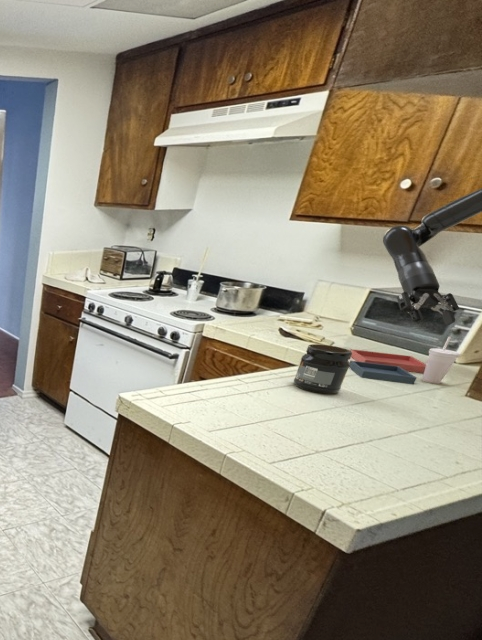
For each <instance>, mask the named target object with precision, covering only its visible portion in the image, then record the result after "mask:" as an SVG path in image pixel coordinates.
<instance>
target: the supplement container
mask: <svg viewBox="0 0 482 640" xmlns="http://www.w3.org/2000/svg"><path fill="white" fill-rule="evenodd" d="M350 350H351V349H350ZM350 350H349V349H348V348H344V347H340V346H336V345H329V344H328V345H327V344H318V343H314V344H309V345H308V346H307V347H306V350H305V352H306V353H305V354H303V355H302V356H301V358H300V362H299V365H298V367H297V370H296V374H295V376H294V378H293V384H294V385H295V386H296V387H297V388H300V389H302V390H305V391H309V392H312V393H316V394H323V395H324V394H326V395H329V394H330V395H332V394H336V393H339V392H340V390H341V389H342V385H343V383H344V380H345V377H346V375H347V373H348V370H349V369H350V368H349V367H350V363H349V362H350V360H351V358H352V357H351V355H352V352H351V351H350Z"/></svg>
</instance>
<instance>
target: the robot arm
mask: <svg viewBox="0 0 482 640" xmlns="http://www.w3.org/2000/svg"><path fill="white" fill-rule="evenodd" d="M481 213H482V188H479V189H477V190H475V191H472V192H470V193H468V194H466V195H463V196H461V197H459V198H457V199H455V200H452V201H450V202H448V203H446V204H444V205H442V206H440V207H438V208H436V209H434V210H432V211H430V212H429V213H427V214H425V215H424V216H423V217H422V218H421V223H420V224H418V225H417V226H416V227H414V228H411V227H410V226H408V225H404V224H399V225H398V224H397V225H394V226H392V227H389V229H387V230H385V232H384V234H383V236H382V244H383V246H384V247H385V250H386V252H387V253H388V255H389V256H390V257H391V259H392V261H393V264H394V267H395V270H396V272H397V276H398V281H399V282H400V286H401V289H402V293H400V294H398V295H397V296H396V299H397V303H398V308H399V310H400V312H403V313H404V312H407V313H408V315H410V318H411V320H412V322H413V323H414V324H420V323H422V322H423V321H424V317H423V315H422V312H421V310H420V309H424V308H427V309H431V310H432V311H434V312H438V313H440V314H441V317H442V321H443V322H444V324H445V326H450V325H452V324H454V323H455V322H456V318H455V315H454V313H455V312H456V311H458V310H460V306H459V304H458V303H457V301H456V298H455V297H454V294H453V293H451V292H449V293H447V294H441V293H440V292H439V290H440V282H439V281H438V278H437V276H436V274H435V272H434V269H433V268H432V266H431V265H430V263H429V260H428V258H427V255H426V253H425V252H424V251H423V250H422V249H421V246H423V245H425V244H426V243H427V242H429V241H430V240H432V239H433V238H434V237H436V236H438V234H440V233H442V232H444V231H446V230H448V229H450V228H453V227H455V226H457V225H458V224H460V223H463V222H465V221H466V220H469V219H471V218H473V217H475V216H477V215H479V214H481ZM437 305H438V306H437ZM444 309H445V310H444Z"/></svg>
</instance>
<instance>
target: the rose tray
mask: <svg viewBox="0 0 482 640" xmlns="http://www.w3.org/2000/svg"><path fill="white" fill-rule="evenodd" d="M350 351H351V352H352V355H351V358H352V359H354V361H358V362H366V363H375V364H383V365H391V366H399V367H401V368H402V369H404V370H405V371H407V372H411V373H420V374H424V371H425V367H426V364H427V363H424V362H422V361H421V360H419V359H417V358H415V357H414V356H412V355H404V354H395V353H386V352H378V351H368V350H360V349H350Z"/></svg>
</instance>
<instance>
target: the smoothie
mask: <svg viewBox="0 0 482 640" xmlns="http://www.w3.org/2000/svg"><path fill="white" fill-rule="evenodd" d="M451 338H452V336H447V339H446V341H445V343H444V345H443V347H442V348H436V347H435V348H434V347H433V348H429V349H428V357H427V360H426V363H425V364H426V367H425V371H424V373H423V375H422V379H421V381H423V382H426V383H430V384H437V385H438V384H439V385H440V383H441V382H442V381H443V379H444V377H445V376H446V375H447V373H448V372H449V371H450V370H451V368H452V366H453V364H454V363H455V362H456V360H457V358H460V357H461V353H460V352H458V351H455V350H450V349H447V347H448V345H449V343H450V341H451Z"/></svg>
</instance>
